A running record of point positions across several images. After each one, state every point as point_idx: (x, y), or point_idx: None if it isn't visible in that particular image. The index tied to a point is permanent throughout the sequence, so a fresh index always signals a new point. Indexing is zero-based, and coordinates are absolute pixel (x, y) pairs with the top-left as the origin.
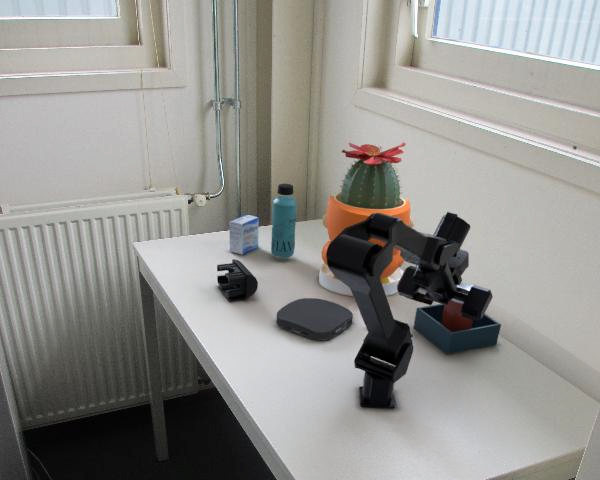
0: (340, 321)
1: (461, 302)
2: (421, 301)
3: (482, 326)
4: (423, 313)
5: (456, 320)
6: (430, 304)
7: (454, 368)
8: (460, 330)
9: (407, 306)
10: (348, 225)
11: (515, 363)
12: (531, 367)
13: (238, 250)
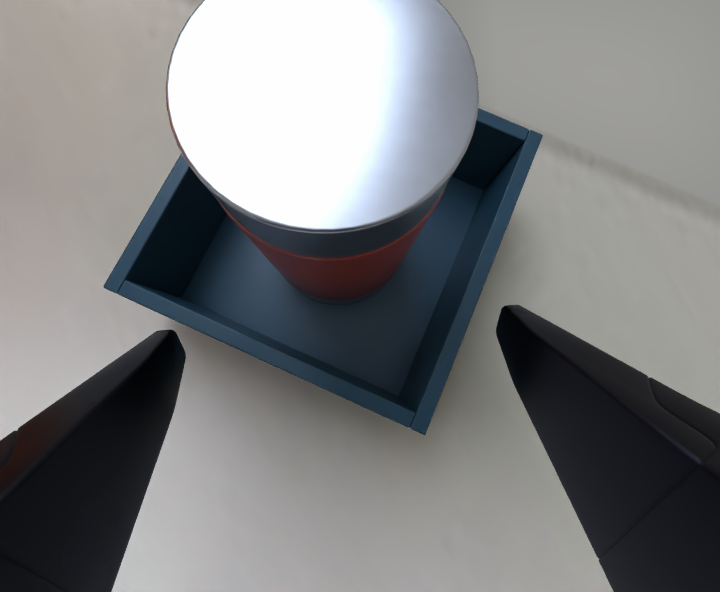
0: None
1: (387, 243)
2: (106, 589)
3: None
4: (169, 317)
5: (368, 282)
6: (180, 375)
7: (485, 494)
8: (389, 277)
9: (51, 149)
10: None
11: (619, 271)
12: (673, 255)
13: None
